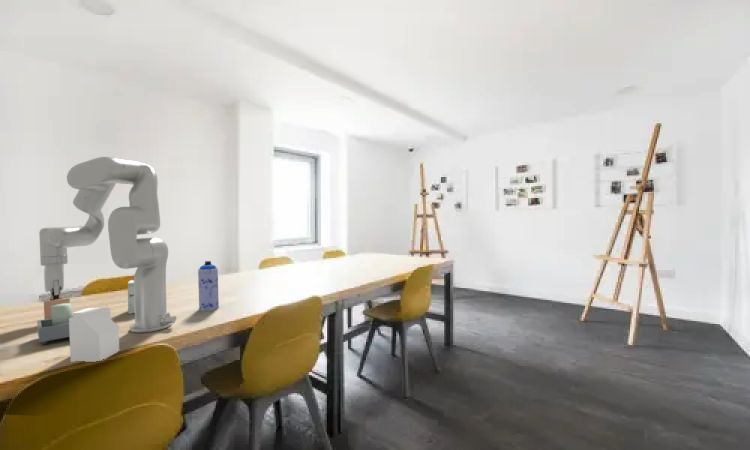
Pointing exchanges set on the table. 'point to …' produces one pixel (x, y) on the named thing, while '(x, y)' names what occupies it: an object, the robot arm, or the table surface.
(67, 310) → the part
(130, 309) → the supplement box
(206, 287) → the aerosol can
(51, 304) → the grey desk organizer
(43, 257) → the robot arm
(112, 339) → the white angular block
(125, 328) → the table surface
